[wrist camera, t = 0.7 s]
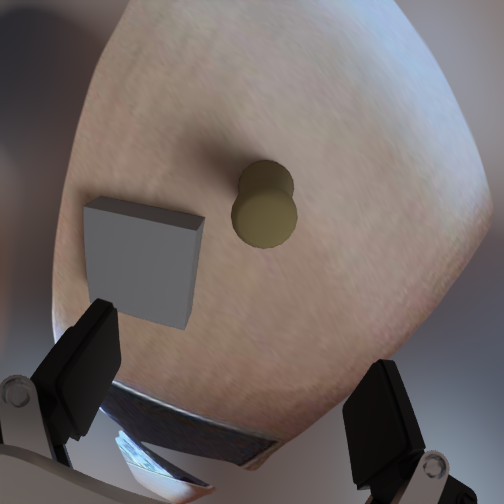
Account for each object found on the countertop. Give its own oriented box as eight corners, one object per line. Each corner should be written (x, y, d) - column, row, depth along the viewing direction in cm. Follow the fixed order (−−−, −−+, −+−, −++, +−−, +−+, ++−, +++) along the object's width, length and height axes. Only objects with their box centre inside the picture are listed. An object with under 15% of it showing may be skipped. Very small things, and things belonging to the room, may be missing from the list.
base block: (100, 196, 33) (83, 206, 29) (204, 217, 33) (196, 231, 30) (102, 287, 39) (90, 302, 35) (191, 311, 40) (184, 330, 36)
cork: (259, 223, 33) (253, 273, 23) (227, 180, 31) (206, 213, 21) (304, 195, 31) (319, 234, 22) (273, 149, 29) (274, 167, 20)
